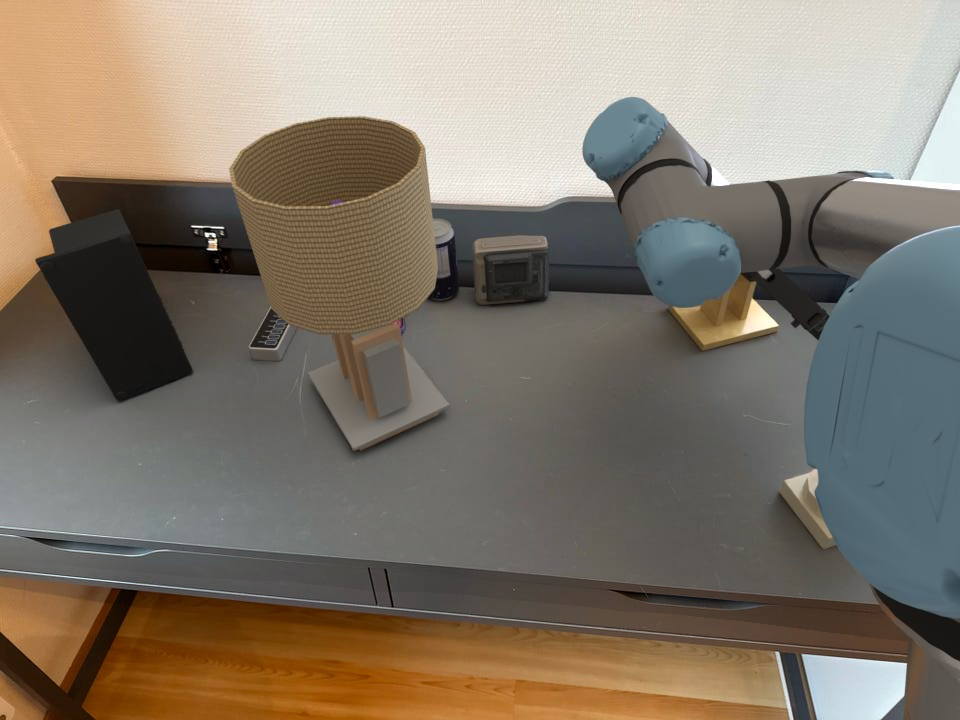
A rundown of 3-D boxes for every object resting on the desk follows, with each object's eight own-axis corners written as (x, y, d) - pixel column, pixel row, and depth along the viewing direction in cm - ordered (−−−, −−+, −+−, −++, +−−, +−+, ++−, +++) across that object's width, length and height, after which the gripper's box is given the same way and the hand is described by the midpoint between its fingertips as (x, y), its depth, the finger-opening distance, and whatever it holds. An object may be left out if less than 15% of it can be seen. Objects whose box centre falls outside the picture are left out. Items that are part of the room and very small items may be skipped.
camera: (546, 283, 112) (547, 229, 105) (550, 306, 107) (551, 251, 101) (474, 288, 112) (470, 234, 105) (475, 310, 107) (471, 256, 101)
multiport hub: (251, 359, 102) (247, 348, 100) (284, 297, 112) (281, 286, 111) (280, 361, 101) (276, 349, 100) (311, 299, 112) (308, 287, 110)
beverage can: (466, 294, 111) (461, 229, 102) (435, 308, 108) (428, 242, 100) (447, 277, 114) (440, 212, 106) (417, 290, 112) (408, 225, 104)
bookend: (89, 315, 111) (14, 181, 95) (158, 291, 115) (98, 158, 99) (117, 405, 96) (34, 264, 80) (195, 374, 100) (132, 233, 84)
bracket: (777, 331, 101) (802, 251, 91) (702, 351, 98) (720, 271, 89) (738, 291, 108) (758, 213, 98) (667, 309, 106) (681, 230, 96)
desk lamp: (478, 416, 92) (460, 169, 68) (339, 481, 85) (264, 233, 61) (411, 334, 104) (376, 101, 80) (285, 385, 97) (205, 148, 73)
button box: (886, 529, 77) (899, 507, 74) (823, 550, 75) (834, 528, 72) (838, 473, 82) (849, 451, 80) (778, 491, 81) (787, 470, 78)
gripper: (620, 184, 82) (712, 264, 95) (739, 309, 64) (833, 387, 77) (667, 132, 79) (756, 222, 92) (806, 248, 61) (891, 340, 74)
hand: (791, 297), depth 84 cm, fingers open, 13 cm apart
